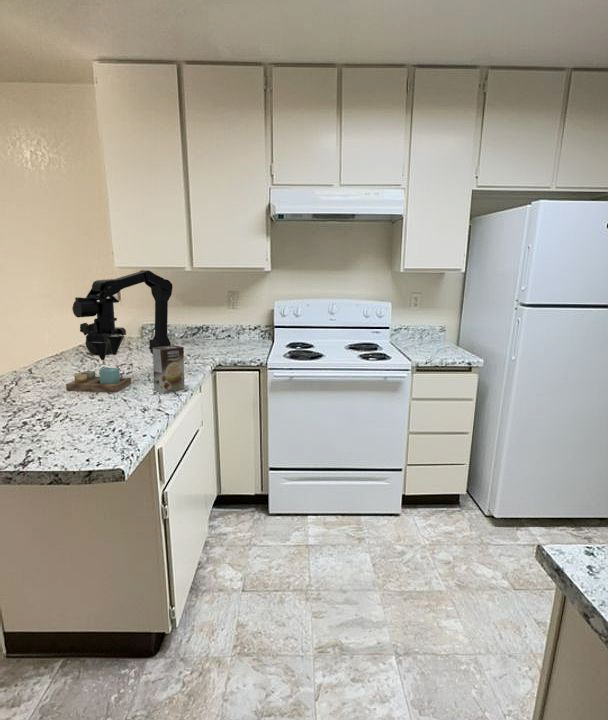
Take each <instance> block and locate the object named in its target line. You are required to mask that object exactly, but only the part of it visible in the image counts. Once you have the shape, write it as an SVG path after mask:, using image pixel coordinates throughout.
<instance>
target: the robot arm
mask: <svg viewBox="0 0 608 720" xmlns="http://www.w3.org/2000/svg"><path fill="white" fill-rule="evenodd" d="M141 283H144V284H145V286H147V287H148V288H150V290H151V291H150V293H151V295H152V298H153V300H154V302H155V303H154V335H153V338H152V339H149V340H148V341H149V346H148V349H149V350H150V354H152V355H153V347H163V346H172V344H171V341H170V338H169V337H168V313H169V311H168V310H169V309H168V307H169V306H168V305H169V300H170V299H171V297H172V294H173V289H174V288H173V283H172V282H171V280H169V279H165V278H163V277H162V276H159V275H157V274H156V273H154V272H153V271H151V270H149V269H148V270H147V269H145V270H144V269H142V270H140V271H137V272H134V273H130V274H126V275H124V276H120V277H117V278H110V279H108V278H107V279H97V280H95V281H93V283H92V285H91V288H90V290H89V291H88V293H87V295H86V297H75V299H74V300H75V301H74V302H73V304H72V308H71V309H72V313H73V315H74V316H75V317H76V318H89V317H95V316H96V318H94V319H93V323H90V324H89V323H87V322H83V323H80V324H79V332H80V333H83V335H84V336H85V343H86V342H89V344H92V345H93V346H95V348H96V350H97V352H98V353H97V354H98V357H99V358H100V360H101V361H104V360H106V356H107V354H106V352H107V347H108V343H109V341H108V339H109V340H110V343H111V349H112V352H111V353H112V355H113V356H116V355H117V354H118V352H119V349H120V347H121V344H122V343H123V340H124V338H125V336H127V329H126V328H125V327H117V326H116V321H118V320H117V319H118V318H117V317H115V309H114V306H115V305H114V304H116V303H120V300H119V299H117V298H116V297H115V295H117V294H118V293H120V292H121V290H124V289H126V288H130V287H133V286H135V285H138V284H139V285H140V284H141Z"/></svg>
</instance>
